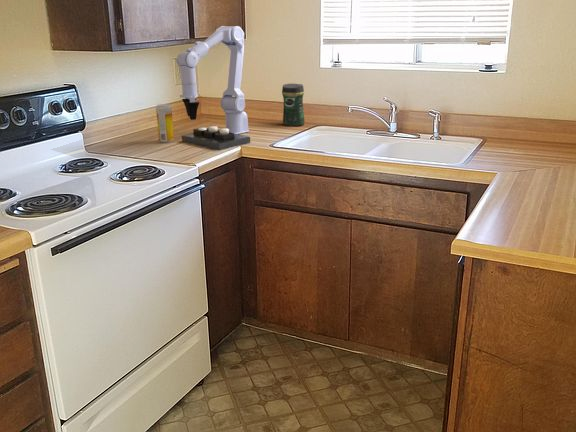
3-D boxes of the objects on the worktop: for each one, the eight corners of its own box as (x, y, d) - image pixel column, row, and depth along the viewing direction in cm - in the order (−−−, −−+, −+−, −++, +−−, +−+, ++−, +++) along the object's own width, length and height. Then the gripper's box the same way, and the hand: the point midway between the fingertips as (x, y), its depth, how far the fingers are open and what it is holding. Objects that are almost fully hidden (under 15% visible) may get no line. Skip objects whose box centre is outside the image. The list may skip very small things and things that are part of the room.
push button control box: (208, 134, 252) (208, 123, 250) (250, 142, 234) (249, 131, 233) (178, 140, 241) (177, 129, 240) (219, 150, 224) (218, 138, 222)
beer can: (176, 139, 243) (172, 103, 237) (171, 143, 237) (168, 106, 232) (161, 139, 243) (158, 103, 238) (157, 143, 238) (153, 106, 232)
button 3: (225, 132, 233) (224, 128, 232) (230, 134, 230) (230, 129, 230) (218, 134, 230) (217, 129, 229) (223, 135, 228) (223, 130, 227)
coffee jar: (306, 123, 269) (306, 83, 263) (299, 127, 262) (298, 85, 256) (288, 122, 273) (287, 82, 267) (280, 125, 267) (279, 84, 260)
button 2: (213, 130, 237) (213, 125, 236) (219, 131, 235) (219, 126, 234) (206, 132, 235) (206, 127, 234) (212, 133, 232) (212, 128, 232)
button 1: (203, 131, 242) (203, 127, 242) (208, 133, 240) (208, 128, 239) (196, 133, 240) (196, 128, 239) (201, 134, 237) (201, 129, 237)
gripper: (176, 81, 235) (179, 115, 239) (180, 86, 222) (184, 121, 226) (194, 80, 236) (197, 114, 241) (199, 85, 223) (202, 120, 228)
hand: (191, 117), depth 234 cm, fingers open, 7 cm apart
